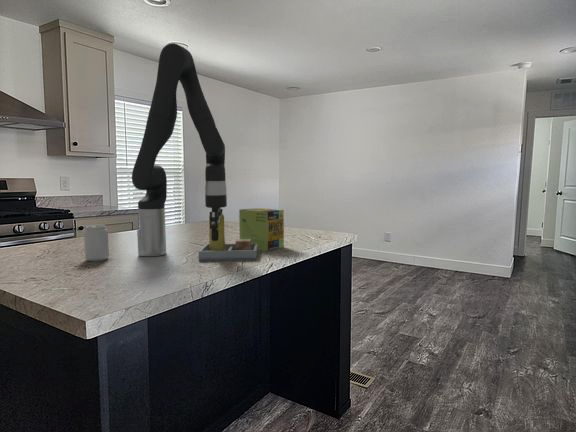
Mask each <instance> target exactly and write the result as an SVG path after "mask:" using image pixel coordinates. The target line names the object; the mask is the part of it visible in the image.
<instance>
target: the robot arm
mask: <svg viewBox="0 0 576 432" xmlns="http://www.w3.org/2000/svg"><path fill="white" fill-rule="evenodd" d="M179 82H180V84H181V87H182V89H183V91H184V94H185V95H184V96H185V101H186V105H187V110H188V112H189V113H188V114H189V115H190V118H191V120H192V123H193V126H194V127H195V129H196V131H197V133H198V135H199V139H200V142H201V145H202V148H203V150H204V152H205V161H206V162H205V170H204V171H205V172H204V176H205V179H204V181H205V185H204V196H205V199H204V202H205V205H204V206H205V207H206V208H209V209H211V211H209V212H208V213H209V215H210V229H211V230H212V241H218V229H219V228H218V227H219V225H220V220H221V215H222V214H223V213H224V212H223V210H224V209H223V208H226V207H227V206H228V205H227V203H228V202H227V199H228V198H227V193H228V192H227V182H226V168H225V167H226V165H225V163H226V146H225V145H226V144H225V143H224V141H223V138H222V136H221V135H220V132H219V131H218V130H219V129H218V128H217V126H216V125H217V124H216V121H215V119H214V116H213V114H212V111H211V110H210V106H209V104H208V103H207V100H206V98H205V95H204V92H203V90H202V86H201V84H200V81H199V77H198V73H197V69H196V65H195V61H194V58H193V55H192V54H191V52H190V51H189V50H188V49H187V48H185V47H183V46H181V45H179V44H177V43H173V42H171V43H167V44H166V45H165V46H163V48H162V49H161V51H160V53H159V59H158V66H157V74H156V82H155V87H154V91H153V94H152V100H151V104H150V107H149V111H148V115H147V118H146V125H145V129H144V133H143V137H142V141H141V144H140V148H139V151H138V154H137V157H136V160H135V162H134V166H133V168H132V173H131V183H132V185H133V186H134V187H135V189H137V190H139V191H146V193H145V195H144V196H143V198H142V199H141V198H140V199H139V201H138V202H137V211H138V212H137V213H138V229H137V230H136V232H137V233H136V236H137V254H138V255H137V256H138V257H139V256H142V257H159V256H163V255H166V254H167V235H166V234H167V233H166V213H165V212H166V209H165V204H166V201H167V195H168V194H167V192H168V191H167V189H168V187H167V186H168V183H167V182H168V181H167V174H166V170H165V169H164V167H162V165H159V164H156V161H157V157H158V155H159V153H160V151H161V150H162V148H163V147H164V146H165V145H166V144H167V143H168V141H169V140H170V138H171V137H172V135H173V132H174V130H175V125H176V121H177V116H178V104H177V100H178V99H177V90H178V85H179ZM223 215H224V214H223ZM213 225H215V226H213Z"/></svg>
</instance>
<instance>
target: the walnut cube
mask: <svg viewBox="0 0 576 432" xmlns="http://www.w3.org/2000/svg"><path fill="white" fill-rule="evenodd" d="M234 244H236V250H251V239H240V238H237V239H236V240H235V243H234Z"/></svg>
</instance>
